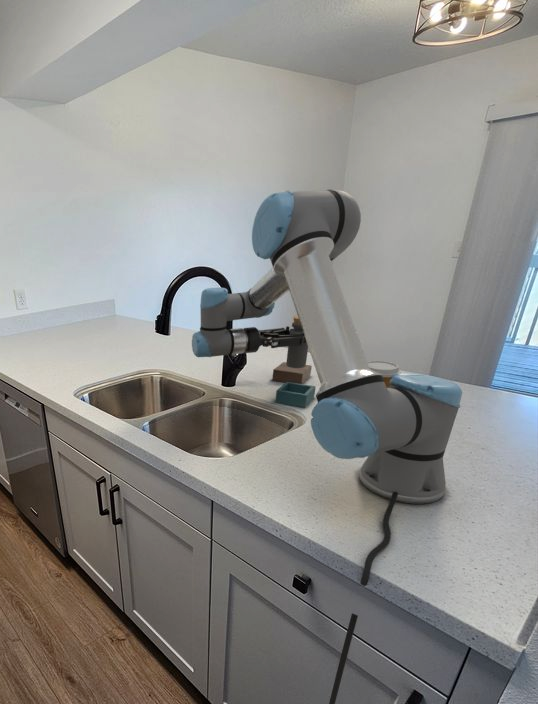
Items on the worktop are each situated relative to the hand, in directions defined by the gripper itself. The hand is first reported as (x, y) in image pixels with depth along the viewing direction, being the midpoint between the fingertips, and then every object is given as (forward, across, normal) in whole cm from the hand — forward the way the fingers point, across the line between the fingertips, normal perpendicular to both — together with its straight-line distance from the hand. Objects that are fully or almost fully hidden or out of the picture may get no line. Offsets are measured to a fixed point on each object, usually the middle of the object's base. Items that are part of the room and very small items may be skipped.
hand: (315, 334), depth 133 cm
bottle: (-5, 0, -10) cm, 11 cm away
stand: (0, -12, -18) cm, 22 cm away
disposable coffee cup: (+11, +17, -18) cm, 27 cm away
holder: (-8, +8, -18) cm, 21 cm away
